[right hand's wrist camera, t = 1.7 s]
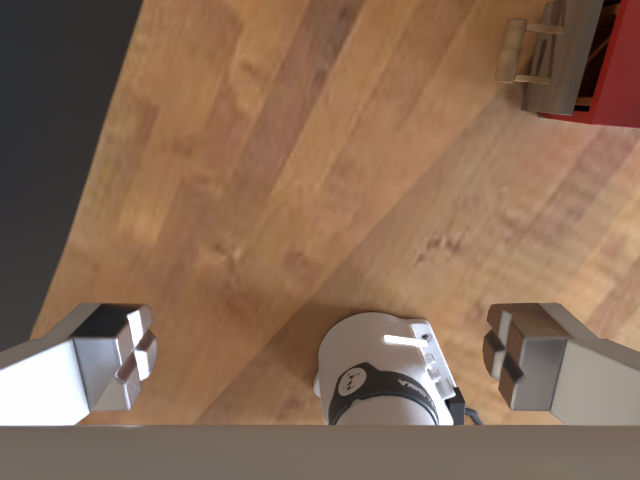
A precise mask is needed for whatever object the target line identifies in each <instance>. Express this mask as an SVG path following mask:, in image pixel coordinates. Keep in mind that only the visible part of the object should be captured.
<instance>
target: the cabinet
mask: <svg viewBox="0 0 640 480" xmlns="http://www.w3.org/2000/svg"><path fill="white" fill-rule="evenodd" d="M618 3H620V6H619V9H618V13H617V16H616V20H615V23H614V26H613V30H612V33H611V37H610V40H609V44H608V47H607V51H606V54H605V58H604V61H603V64H602V68H601V71H600V75H599V78H598V82H597V85H596V89H595V92H594V96H593V99H592V103H591V106H590V107H588V106H576V105H575V107H574V110H573V114H572V115H560V114H551V113H542V112H540V113H539V116H538V117H540V118H548V119H556V120H563V121H570V122H577V123H584V124H592V125H603V126H614V127H626V128H638V129H640V0H604V2H603V5H602V8H604V7H608V6H611V5H615V4H618Z"/></svg>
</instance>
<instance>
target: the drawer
mask: <svg viewBox="0 0 640 480" xmlns="http://www.w3.org/2000/svg"><path fill="white" fill-rule="evenodd" d="M603 2H604V0H555V1H553V2H550V3H547V4H546V6H545V10H544V14H543V19H542V23H541V24H532V23H527V20H525V19H508V20H507V21H506V26H505V30H504V35H503V40H502V45H501V50H500V54H499V59H498V64H497V69H496V73H495V78H494V82H503V83H513V81H519V82H527V87H526V91H525V95H524V99H523V103H522V108H521V110H525V111H533V112H542V113H551V114H560V115H572V114H573V110H574V107H575V105H576V106H588V107H590V106H591V103H592V99H593V96H594V92H595V89H596V85H597V82H598V78H599V75H600V71H601V68H602V64H603V61H604V58H605V54H606V51H607V47H608V44H609V40H610V37H611V33H612V30H613V26H614V23H615V20H616V16H617V13H618V9H619V6H620V3H618V4H615V5H611V6H608V7H604V8H602V5H603ZM525 31H530V32H539V36H538V40H537V44H536V48H535V53H534V57H533V61H532V65H531V70H530V74H529V75H520V74H515V72H516V68H517V64H518V59H519V55H520V50H521V46H522V41H523V37H524V32H525Z"/></svg>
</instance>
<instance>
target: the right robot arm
mask: <svg viewBox="0 0 640 480" xmlns="http://www.w3.org/2000/svg"><path fill="white" fill-rule="evenodd" d="M152 322H153V316H152V311H151V308H150V307H149V305H148V304H133V303H104V302H103V303H81V304H79V305H78V306H77V307H76V308H75V309H74V310H73V311H71V312H70V313H69V314H68V315H67V316H66V317H65V318H64V319H62V320H61V321H60V322H59V323H58V324H57V325H56V326H55V327H54V328H52V329H51V330H50V331H49V332H48V333H47V334H46V335H45V336H43V337H42V338H41V339H32V340H30V341H27V342H25V343H22V344H20V345H17V346H15V347H12V348H9V349H7V350H4V351H2V352H0V480H640V352H638V351H636V350H633V349H630V348H628V347H625V346H623V345H620V344H618V343H615V342H613V341H610V340H608V339H599V338H598V337H597V336H596V335H594V334H593V333H592V332H591V331H590V330H589V329H588V328H587V327H585V326H584V325H583V324H582V323H581V322H580V321H579V320H578V319H577V318H575V317H574V316H573V315H572V314H571V313H570V312H569V311H568V310H566V309H565V308H564V307H563V306H562V305H561V304H558V303H555V302H553V303H511V304H493V305H491V306H490V308H489V311H488V316H487V322H488V323H489V325H490V326H491V328H492V329H491V330H490V331H489V332H488V333H487V334H486V335H485V336H484V342H483V358H484V363H485V366H486V369H487V371H488V372H489V374H490V376H491V377H493V378H494V379H496V380H498V381H499V388H498V390H499V391H500V393H501V395H502V396H503V398H504V400H505V401H506V403H507V405H508V406H509V408H510V410H519V411H551V412H550V413H551V414H552V415H554V416H555V417H556V418H558V419H559V420H560V421H562V422H563V423H564V424H566V425H483V424H482V422H481V421H480V420H479V418H478V416H477V415H478V414H477V412H476V411H475V410H472V409H468V408H465V401H464V398H463V396H462V394H461V392H460V390H459V388H458V387H457V386H456V384H455V382H454V379H453V377H452V375H451V372H450V370H449V368H448V365H447V363H446V361H445V358H444V356H443V354H442V351H441V349H440V346H439V344H438V342H437V339H436V337H435V335H434V332H433V330H432V328H431V325H430V323H429V322H428V321H427V320H424V319H402V318H398V317H395V316H392V315H389V314H385V313H377V312H368V313H361V314H356V315H353V316H350V317H348V318H346V319H344V320H342V321H340V322H339V323H337V324H336V325H335V326H334V327H332V328H331V329H330V330H329V332H328V333H327V334H326V335H325V337H324V339H323V341H322V343H321V345H320V348H319V353H318V365H319V369H318V373H317V375H316V377H315V380H314V382H313V390H314V393H315V394H316V395H317V396H318V397H320V399H321V408H322V416H323V421H324V423H325V424H326V425H74V424H76V423H77V422H78V421H80V420H81V419H83V418H84V417H85V416H87V415H88V414H89V413H90V412H89V411H119V410H130V408H131V406H132V405H133V403H134V401H135V400H136V398H137V396H138V395H139V393H140V391H141V390H142V388H141V381H142V380H144V379H146V378H147V377H149V376H150V374H151V372H152V371H153V369H154V366H155V362H156V358H157V341H156V336H155V335H154V334H153V333H152V332H151V331H150V330H149V329H148V328H149V326H150V325H151V323H152ZM424 334H427V336H425V337H422V336H423V335H424ZM465 414H466V415H470V417H471V418H472V420H473V421H474V423H475V424H476V425H464V417H465Z"/></svg>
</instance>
